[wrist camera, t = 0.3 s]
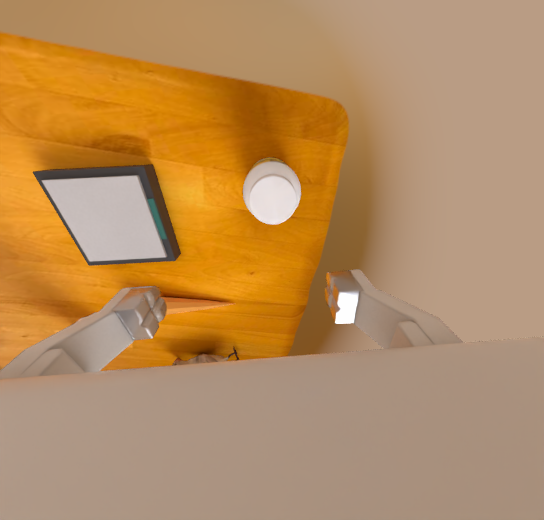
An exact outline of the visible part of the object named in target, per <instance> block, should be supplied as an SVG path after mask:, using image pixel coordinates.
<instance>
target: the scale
mask: <svg viewBox="0 0 544 520" xmlns="http://www.w3.org/2000/svg"><path fill="white" fill-rule="evenodd" d="M33 174H34V175H35V177H36V179H37V180H38V182H39V184H40V185H41V187H42V189H43V190H44V192H45V194H46V195H47V197H48V198H49V200H50V202H51V203H52V205H53V207H54V208H55V210H56V212H57V213H58V215H59V217H60V218H61V220H62V222H63V223H64V225H65V227H66V228H67V230H68V232H69V233H70V235H71V237H72V238H73V240H74V242H75V243H76V245H77V247H78V248H79V250H80V252H81V253H82V255H83V257H84V258H85V260H86V262H87V263H88V265H89V266H90V265H108V264H126V263H144V262H162V261H176V259H177V258H178V257H179V255H180V254H181V253H180V249H179V246H178V243H177V240H176V237H175V234H174V230H173V227H172V224H171V221H170V218H169V214H168V211H167V208H166V205H165V202H164V198H163V195H162V192H161V189H160V186H159V182H158V179H157V176H156V173H155V170H154V167H153V165H133V166H113V167H93V168H73V169H53V170H43V171H35V172H33Z"/></svg>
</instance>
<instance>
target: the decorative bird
mask: <svg viewBox="0 0 544 520" xmlns="http://www.w3.org/2000/svg"><path fill="white" fill-rule="evenodd" d="M234 348H235V347H233V349H234ZM233 354H235V355H236V357H237V353H236V350H235V349H234V353H232V354H230V355H229V356H228V357H226V358H225V357H224V356H219V355H207V354H200V355H198V356H196V357H194V358H191V359H189V360H188V361H182V360H181V359H179V358H177V359H176V360H175V361H174V363H173V365H172V366H174V365H186V364H199V363H212V362H224V361H227V359H228V358H229V357H230V356H231V355H233ZM237 360H239V358H238V357H237ZM237 360H235V361H237Z"/></svg>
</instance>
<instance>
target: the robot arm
mask: <svg viewBox="0 0 544 520" xmlns="http://www.w3.org/2000/svg"><path fill="white" fill-rule="evenodd" d="M326 281H327V283H328V284H327V286H326V287H325V298H326V302H327V305H328V306H329V307H330V308H331V315H332V317H333V320H334V322H335V324H340V323H354V324H355V325H356V326H357V327H359V328H360V329H361V330H362V331H364V332H365V333H366V334H367V335H368V336H369V337H371V338H372V339H373V340H374V341H375V342H377V343H378V344H379V345H380V346H381V347H383V348H384V349H377V350H365V351H352V352H339V353H327V354H315V355H301V356H288V357H275V358H263V359H250V360H237V361H224V362H212V363H199V364H186V365H174V366H161V367H148V368H136V369H123V370H110V371H100V370H101V369H102V368H103V367H105V366H106V365H107V364H108V363H109V362H110V361H111V360H113V359H114V358H115V357H116V356H117V355H118V354H120V353H121V352H122V351H123V350H124V349H125V348H126V347H128V346H129V345H130V344H131V343H132V342H133V340H141V339H150V338H153V336H154V335H155V333H156V331H157V329H158V328H159V324H158V323H159V322H160V321H161V320H163V319H164V317H165V315H166V311H167V305H166V302H165V300H164V299H163V298H161V297H160V295H161V291H160V289H159V287H157V286H147V287H131V288H123V289H121V290H120V291H119V292H118V293H117V294H116V295H115V296H114V297H113V298H112V299H111V300H110V301H109V302H108V303H107V304H106V305H105V306H104V307H103V308H102V309H101V310H100V311H99V312H95V313H93V314H91V315H89V316H87V317H86V318H84V319H82V320H80V321H78V322H76V323H74V324H72V325H71V326H69V327H67V328H65V329H63V330H61V331H59V332H57V333H56V334H54V335H52V336H50V337H48V338H46V339H44V340H42V341H41V342H39V343H37V344H35V345H33V346H31V347H29V348H27V349H25V350H24V351H22V352H21V353H20V354H19V355H18V356H17V357H15V358H14V359H13V360H12V361H11V362H10V363H9V364H7V365H6V366H5V367H4V368H3V369H2V370H0V520H544V336H542V337H530V338H517V339H504V340H493V341H492V340H491V341H479V342H467V343H463V342H462V341H461V340H460V339H459V338H458V337H457V336H456V335H455V334H454V333H453V332H452V331H451V330H450V329H449V328H448V327H447V326H446V325H445V324H444V323H443V322H442V321H441V320H440V319H439V318H438V317H436V316H433V315H432V314H429V313H427V312H425V311H423V310H421V309H419V308H417V307H415V306H413V305H410V304H408V303H406V302H404V301H402V300H400V299H398V298H396V297H394V296H391V295H389V294H387V293H385V292H383V291H381V290H376V289H375V288H374V287H373V285H372V284H371V283H370V281H369V280H368V279H367V278H366V276H365V275H364V274H363V272H362V271H361V270H359V269H355V270H348V271H338V272H327V274H326Z"/></svg>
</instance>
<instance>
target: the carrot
mask: <svg viewBox="0 0 544 520" xmlns="http://www.w3.org/2000/svg"><path fill="white" fill-rule="evenodd" d="M161 298H163V299H164V300H165V302H166V305H167V311H166V315H167V314H174V313H181V312H189V311H196V310H203V309H210V308H215V307H221V306H226V305H232V304H234V303H226V302H218V301H209V300H197V299H183V298H170V297H161Z"/></svg>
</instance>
